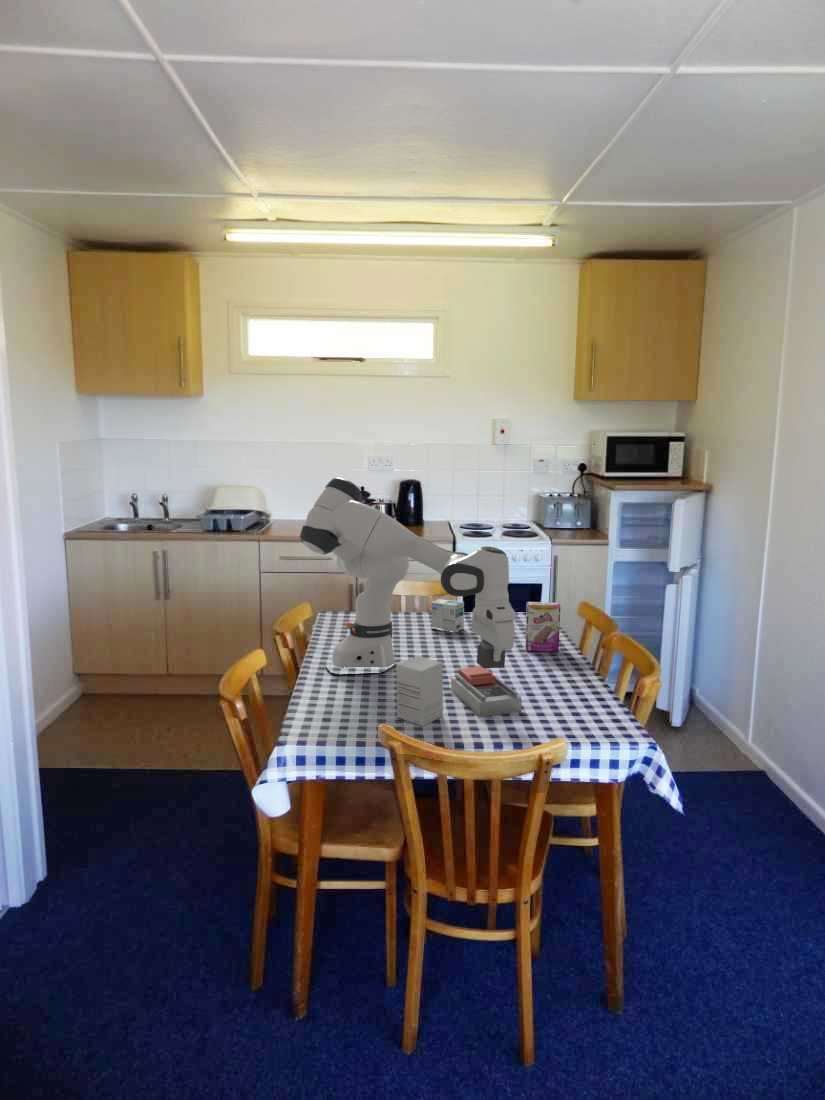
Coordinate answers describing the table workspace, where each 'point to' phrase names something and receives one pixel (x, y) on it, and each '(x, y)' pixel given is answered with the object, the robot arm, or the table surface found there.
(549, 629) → the candy bar box
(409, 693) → the supplement box
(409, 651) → the table surface
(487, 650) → the plug
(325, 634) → the table surface
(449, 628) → the light bulb box
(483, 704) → the socket
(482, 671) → the red stepped block
